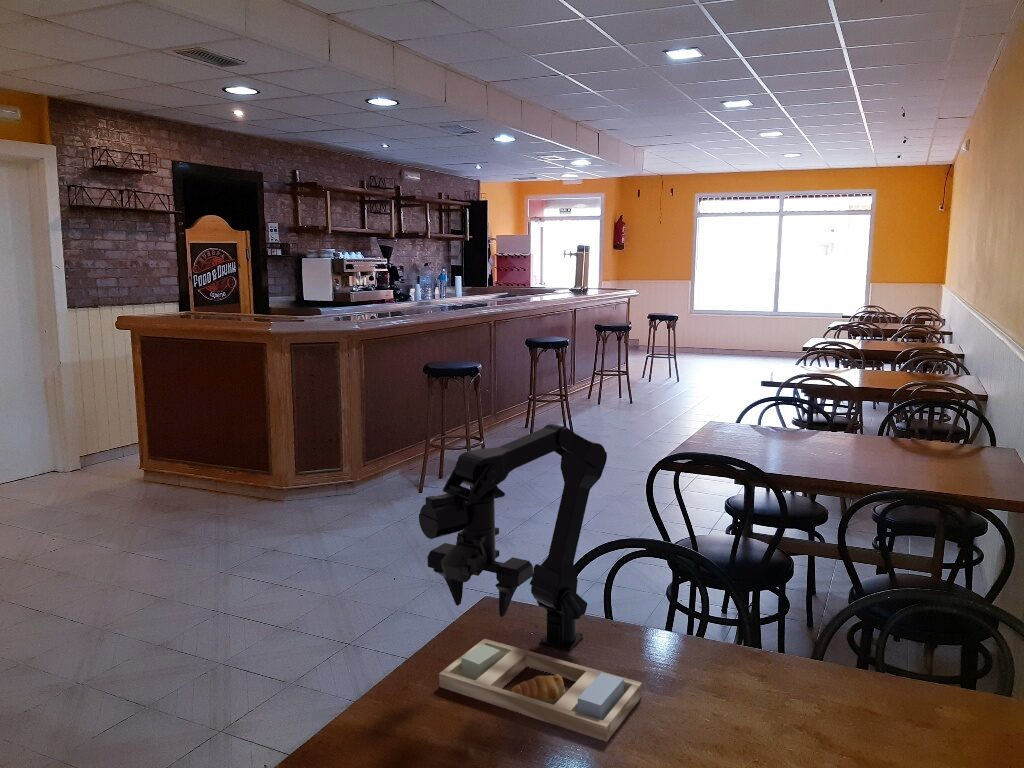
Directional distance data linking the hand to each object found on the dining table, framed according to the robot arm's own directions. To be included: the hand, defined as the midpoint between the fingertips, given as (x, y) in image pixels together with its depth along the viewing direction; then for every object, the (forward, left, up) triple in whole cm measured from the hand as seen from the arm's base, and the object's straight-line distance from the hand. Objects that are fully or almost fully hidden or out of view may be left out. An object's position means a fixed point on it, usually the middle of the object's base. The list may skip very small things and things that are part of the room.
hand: (480, 610), depth 137 cm
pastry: (+2, +13, -12) cm, 18 cm away
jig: (0, +12, -12) cm, 17 cm away
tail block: (0, 0, -12) cm, 12 cm away
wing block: (0, +24, -12) cm, 26 cm away
